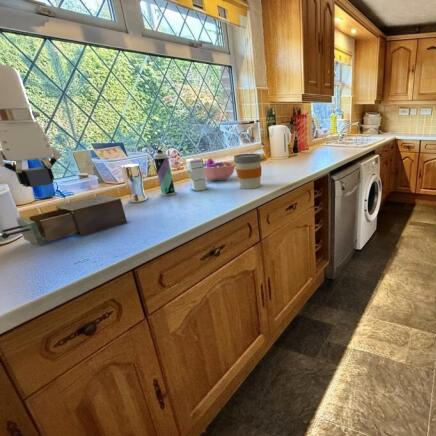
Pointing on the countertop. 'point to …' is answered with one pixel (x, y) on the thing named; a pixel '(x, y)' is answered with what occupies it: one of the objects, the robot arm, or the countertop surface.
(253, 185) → the reusable coffee cup
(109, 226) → the cabinet
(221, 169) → the cell model
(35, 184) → the block
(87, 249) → the countertop surface
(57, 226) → the drawer
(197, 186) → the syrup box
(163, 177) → the spray can
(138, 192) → the beer glass
